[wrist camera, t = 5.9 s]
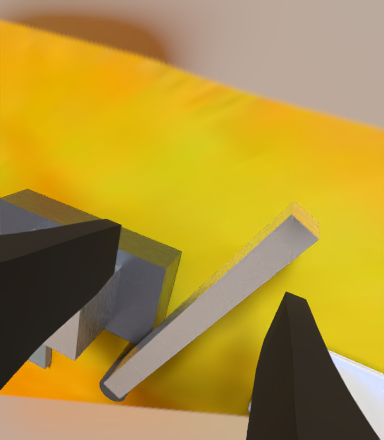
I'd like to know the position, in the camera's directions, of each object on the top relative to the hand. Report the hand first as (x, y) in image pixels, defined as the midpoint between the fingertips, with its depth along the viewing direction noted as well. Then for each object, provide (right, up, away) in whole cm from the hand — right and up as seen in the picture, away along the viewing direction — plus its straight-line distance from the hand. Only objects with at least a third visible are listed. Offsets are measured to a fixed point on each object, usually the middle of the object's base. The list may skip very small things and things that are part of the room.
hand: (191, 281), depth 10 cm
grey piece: (-7, -1, +14) cm, 16 cm away
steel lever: (+1, -3, +11) cm, 11 cm away
